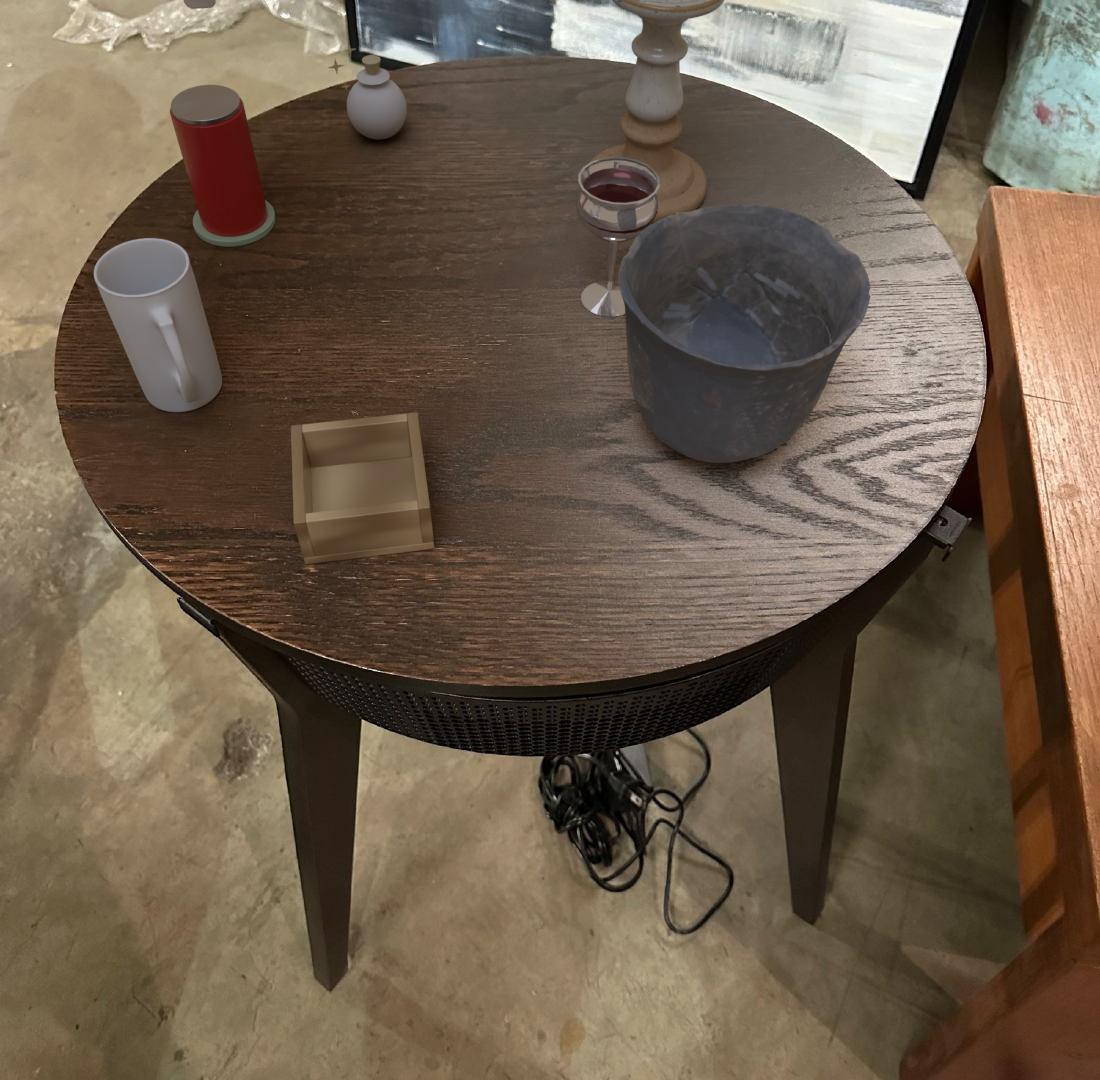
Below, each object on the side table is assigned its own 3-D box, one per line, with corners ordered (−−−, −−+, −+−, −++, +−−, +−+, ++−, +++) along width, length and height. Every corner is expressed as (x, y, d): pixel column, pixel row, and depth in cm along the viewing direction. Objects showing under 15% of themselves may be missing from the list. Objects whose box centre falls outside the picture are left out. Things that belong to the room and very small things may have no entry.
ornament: (416, 145, 106) (407, 50, 98) (345, 158, 105) (331, 62, 97) (400, 115, 110) (390, 20, 102) (331, 127, 108) (316, 32, 100)
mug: (132, 372, 85) (84, 252, 76) (212, 348, 87) (175, 228, 78) (164, 453, 80) (116, 335, 70) (248, 426, 82) (213, 307, 72)
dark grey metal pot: (845, 511, 78) (904, 364, 66) (614, 518, 77) (632, 370, 65) (797, 351, 89) (841, 200, 77) (594, 355, 88) (606, 203, 76)
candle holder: (579, 153, 106) (589, -55, 90) (697, 153, 107) (728, -54, 91) (586, 226, 99) (599, 13, 83) (713, 225, 99) (750, 14, 83)
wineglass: (566, 276, 94) (571, 158, 85) (639, 272, 95) (652, 154, 85) (576, 325, 90) (583, 207, 80) (652, 321, 91) (668, 202, 81)
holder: (305, 565, 74) (293, 523, 70) (301, 468, 79) (290, 425, 75) (434, 549, 75) (430, 507, 71) (422, 455, 80) (417, 411, 77)
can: (199, 239, 95) (166, 124, 86) (202, 200, 99) (169, 85, 90) (268, 234, 96) (241, 119, 87) (267, 195, 100) (242, 80, 90)
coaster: (192, 250, 95) (190, 244, 95) (195, 201, 100) (193, 196, 99) (276, 243, 96) (275, 237, 96) (275, 195, 100) (274, 190, 100)
